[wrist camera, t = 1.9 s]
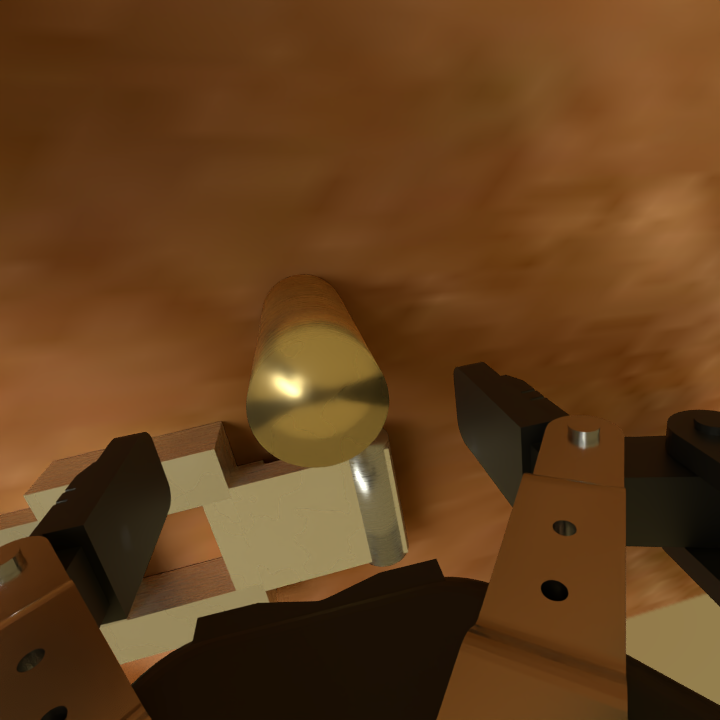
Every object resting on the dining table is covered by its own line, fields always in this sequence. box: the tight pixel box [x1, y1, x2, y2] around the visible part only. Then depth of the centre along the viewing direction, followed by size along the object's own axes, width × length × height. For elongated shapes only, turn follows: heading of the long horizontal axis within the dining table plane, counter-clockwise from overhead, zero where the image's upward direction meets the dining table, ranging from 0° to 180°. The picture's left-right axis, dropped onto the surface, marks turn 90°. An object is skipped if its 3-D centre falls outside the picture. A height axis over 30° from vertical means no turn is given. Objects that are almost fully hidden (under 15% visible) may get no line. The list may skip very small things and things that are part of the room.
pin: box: [246, 274, 389, 468], centre depth 15 cm, size 4×4×9 cm
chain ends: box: [0, 421, 409, 664], centre depth 21 cm, size 10×22×3 cm, turn 101°
